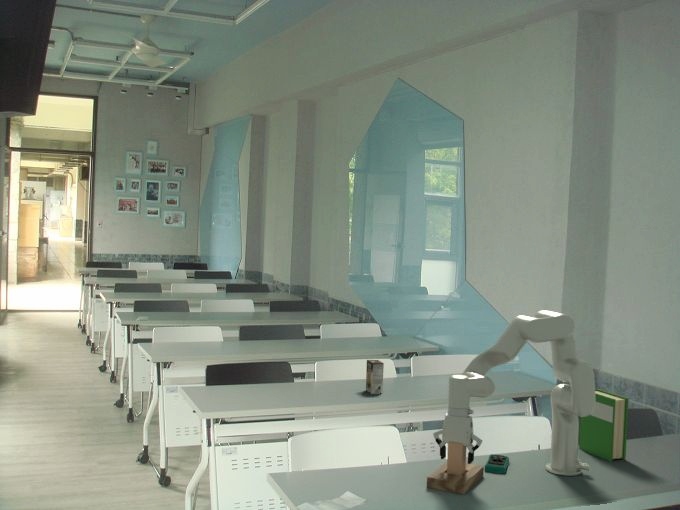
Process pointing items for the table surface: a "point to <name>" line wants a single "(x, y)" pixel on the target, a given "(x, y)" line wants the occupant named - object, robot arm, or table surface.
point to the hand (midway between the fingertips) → (456, 460)
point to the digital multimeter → (497, 463)
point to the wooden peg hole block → (455, 479)
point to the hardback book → (605, 427)
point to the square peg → (456, 459)
